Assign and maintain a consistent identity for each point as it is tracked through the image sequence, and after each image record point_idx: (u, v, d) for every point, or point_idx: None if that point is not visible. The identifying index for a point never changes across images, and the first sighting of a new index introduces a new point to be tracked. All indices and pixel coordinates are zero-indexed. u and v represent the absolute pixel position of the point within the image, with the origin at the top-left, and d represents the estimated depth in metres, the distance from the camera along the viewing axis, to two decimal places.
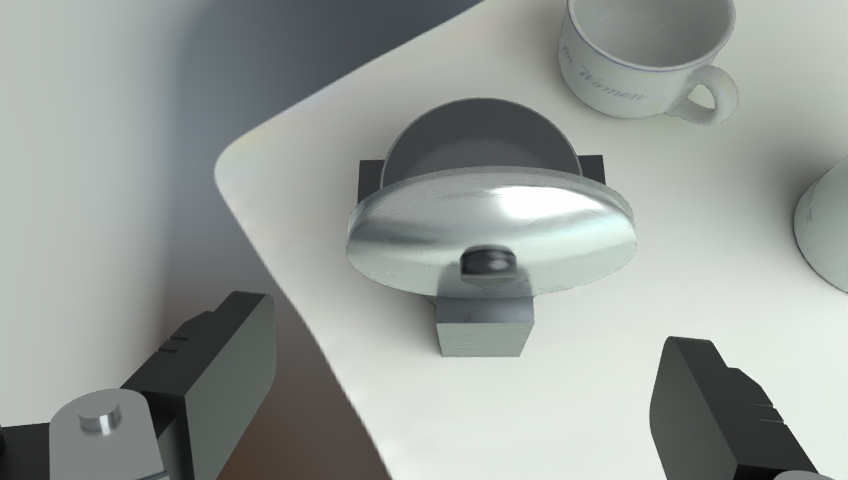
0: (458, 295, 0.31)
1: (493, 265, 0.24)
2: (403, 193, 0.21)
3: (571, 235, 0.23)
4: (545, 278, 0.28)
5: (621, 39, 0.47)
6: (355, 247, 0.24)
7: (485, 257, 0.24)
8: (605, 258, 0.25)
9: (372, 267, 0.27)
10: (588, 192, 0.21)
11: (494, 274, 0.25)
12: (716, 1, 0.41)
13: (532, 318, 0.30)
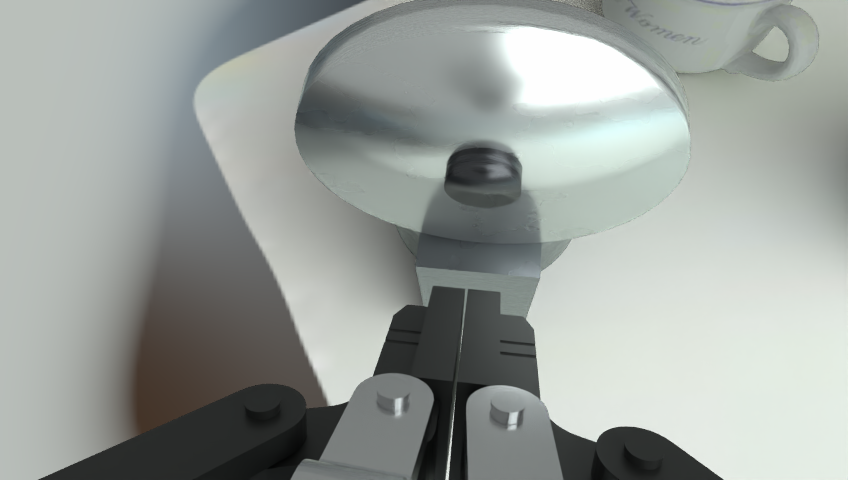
0: (447, 233, 0.24)
1: (489, 168, 0.18)
2: (366, 31, 0.15)
3: (601, 127, 0.16)
4: (559, 211, 0.21)
5: None
6: (306, 128, 0.18)
7: (479, 157, 0.18)
8: (643, 180, 0.19)
9: (333, 170, 0.20)
10: (632, 50, 0.14)
11: (490, 185, 0.18)
12: None
13: (538, 272, 0.24)
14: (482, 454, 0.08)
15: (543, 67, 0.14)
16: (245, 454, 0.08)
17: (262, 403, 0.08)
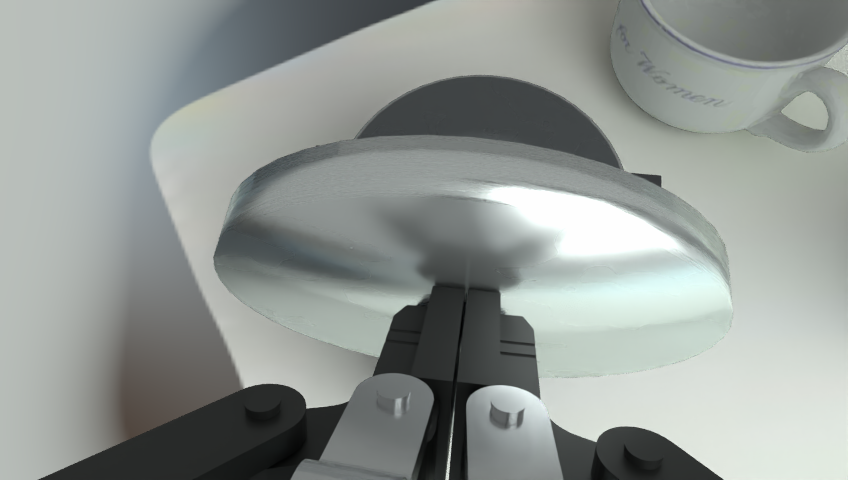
0: None
1: None
2: (294, 176, 0.11)
3: (613, 295, 0.12)
4: (557, 357, 0.17)
5: (695, 29, 0.35)
6: (229, 270, 0.14)
7: None
8: (665, 341, 0.14)
9: (272, 306, 0.16)
10: (660, 215, 0.10)
11: None
12: None
13: None
14: (482, 454, 0.08)
15: (536, 237, 0.10)
16: (245, 454, 0.08)
17: (262, 402, 0.08)
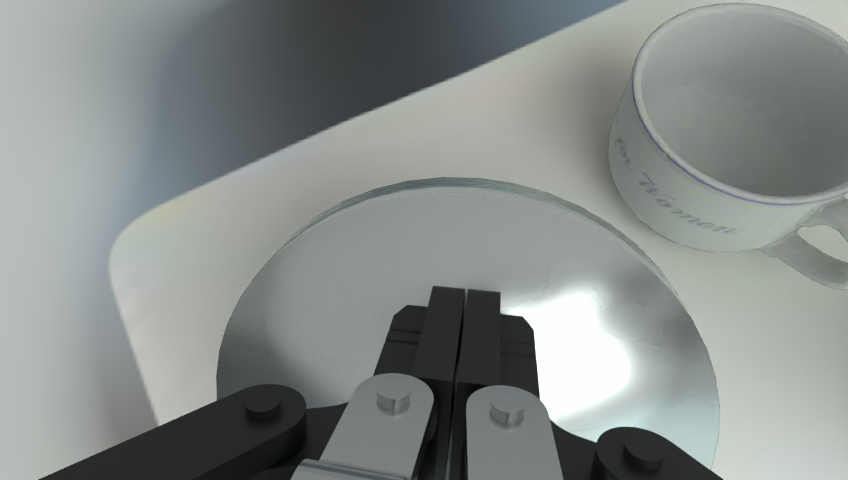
0: None
1: None
2: (333, 211, 0.13)
3: (603, 353, 0.13)
4: None
5: (699, 127, 0.33)
6: (234, 350, 0.14)
7: None
8: None
9: None
10: (628, 244, 0.13)
11: None
12: None
13: None
14: (482, 454, 0.08)
15: (531, 249, 0.12)
16: (245, 454, 0.08)
17: (262, 403, 0.08)
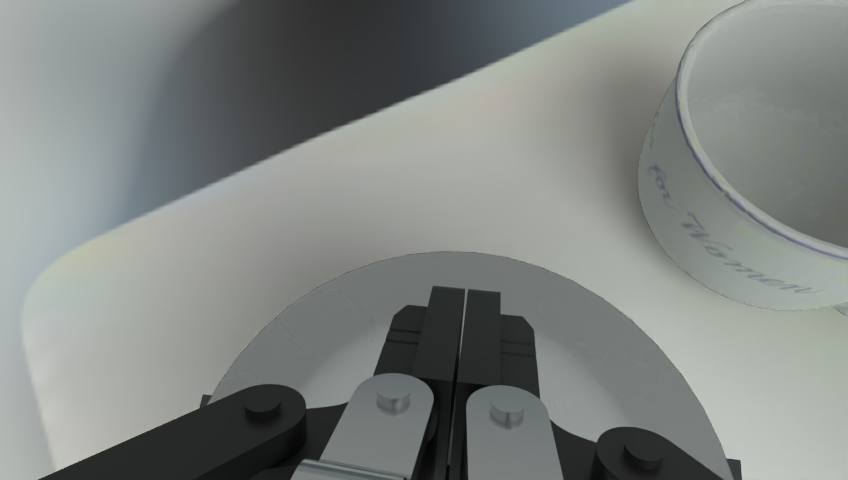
0: None
1: None
2: None
3: (602, 413, 0.13)
4: None
5: (748, 147, 0.27)
6: None
7: None
8: None
9: None
10: None
11: None
12: None
13: None
14: (482, 454, 0.08)
15: (525, 301, 0.14)
16: (245, 454, 0.08)
17: (262, 403, 0.08)
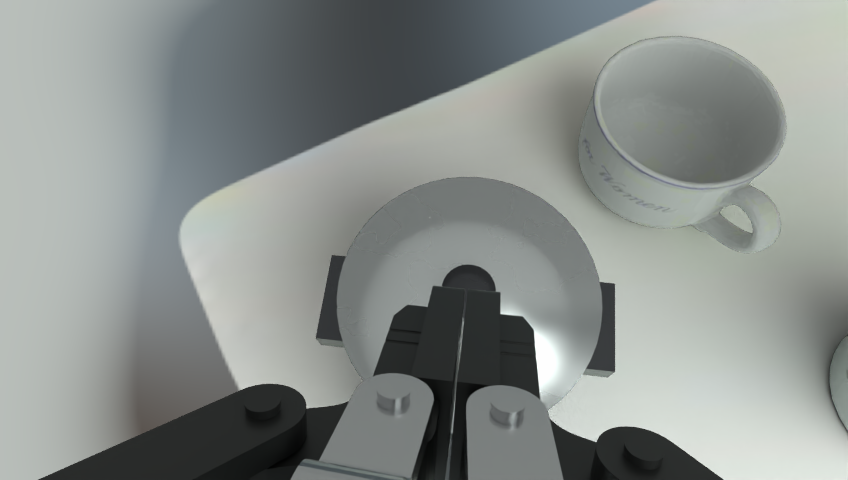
0: None
1: (474, 265, 0.27)
2: None
3: (539, 248, 0.28)
4: None
5: (651, 131, 0.41)
6: (356, 250, 0.28)
7: None
8: (577, 307, 0.27)
9: (354, 302, 0.27)
10: None
11: (474, 282, 0.27)
12: (764, 109, 0.35)
13: None
14: (482, 454, 0.08)
15: (503, 199, 0.29)
16: (245, 454, 0.08)
17: (262, 403, 0.08)
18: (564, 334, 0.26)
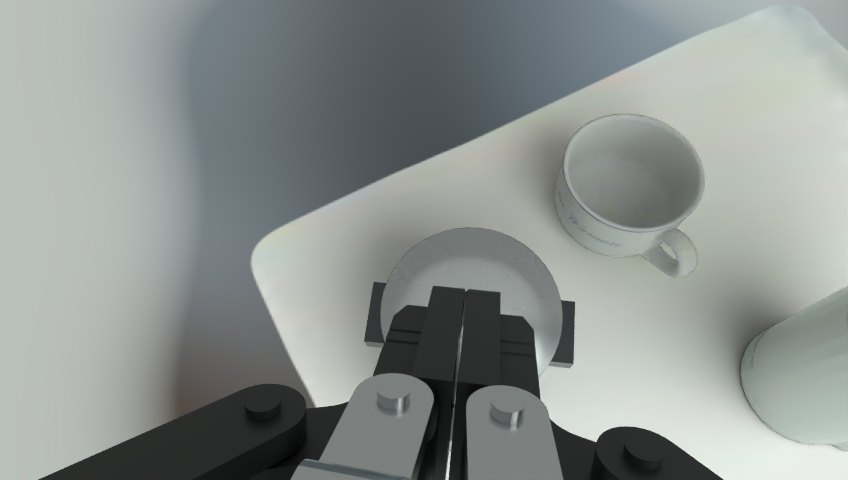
0: None
1: None
2: None
3: (520, 278, 0.40)
4: None
5: (612, 180, 0.54)
6: (393, 280, 0.41)
7: None
8: (545, 319, 0.39)
9: (392, 316, 0.40)
10: None
11: None
12: (691, 169, 0.47)
13: None
14: (482, 454, 0.08)
15: (495, 243, 0.41)
16: (245, 454, 0.08)
17: (262, 403, 0.08)
18: (536, 338, 0.39)
